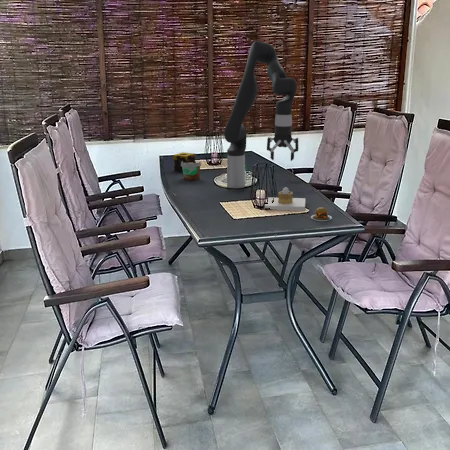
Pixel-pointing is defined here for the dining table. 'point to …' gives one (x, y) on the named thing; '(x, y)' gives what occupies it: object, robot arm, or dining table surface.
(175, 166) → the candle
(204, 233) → the dining table surface
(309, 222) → the dining table surface
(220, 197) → the dining table surface
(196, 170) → the food container
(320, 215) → the hamburger
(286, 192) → the post stand
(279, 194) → the ring
